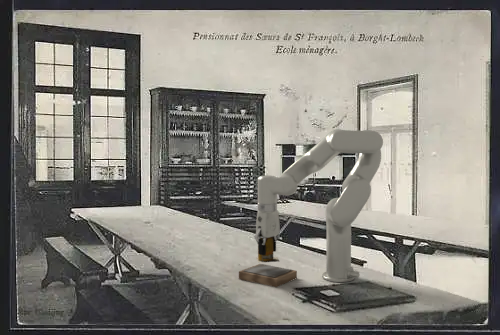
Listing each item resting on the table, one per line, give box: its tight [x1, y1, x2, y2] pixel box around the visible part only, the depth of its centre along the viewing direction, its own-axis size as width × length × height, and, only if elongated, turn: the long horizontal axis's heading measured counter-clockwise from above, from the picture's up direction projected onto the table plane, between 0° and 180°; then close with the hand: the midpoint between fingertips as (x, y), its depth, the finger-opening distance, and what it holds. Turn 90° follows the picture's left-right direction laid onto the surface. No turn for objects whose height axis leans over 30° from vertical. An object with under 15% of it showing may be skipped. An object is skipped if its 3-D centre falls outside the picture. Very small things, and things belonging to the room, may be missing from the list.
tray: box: [238, 263, 298, 288], centre depth 220 cm, size 18×14×3 cm
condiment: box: [256, 235, 280, 263], centre depth 219 cm, size 7×8×12 cm
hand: (267, 252), depth 219 cm, fingers closed on condiment, 6 cm apart
